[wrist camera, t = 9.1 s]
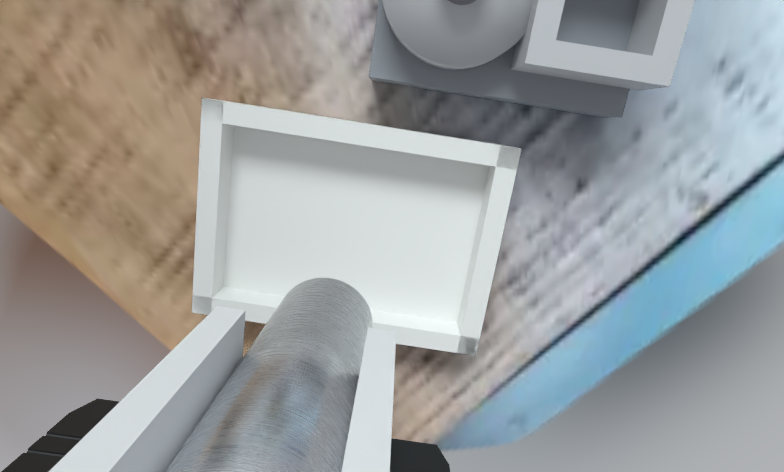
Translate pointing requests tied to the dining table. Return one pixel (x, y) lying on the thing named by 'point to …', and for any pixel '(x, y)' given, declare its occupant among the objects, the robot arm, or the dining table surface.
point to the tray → (350, 218)
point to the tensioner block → (532, 49)
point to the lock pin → (288, 389)
